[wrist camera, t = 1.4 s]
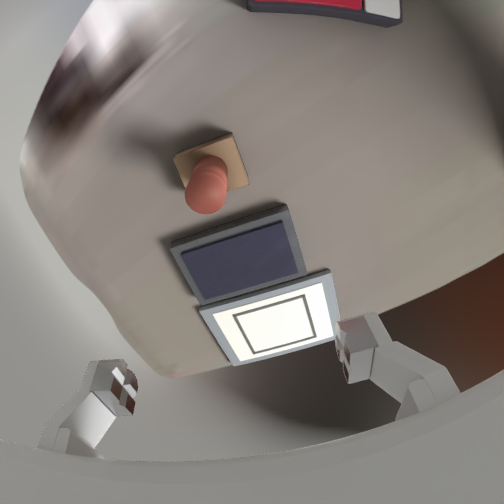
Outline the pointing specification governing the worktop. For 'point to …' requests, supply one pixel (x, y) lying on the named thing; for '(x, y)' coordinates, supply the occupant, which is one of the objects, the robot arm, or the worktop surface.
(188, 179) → the stamp
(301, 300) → the board
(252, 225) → the ink pad
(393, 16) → the calculator
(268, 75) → the worktop surface
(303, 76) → the worktop surface
